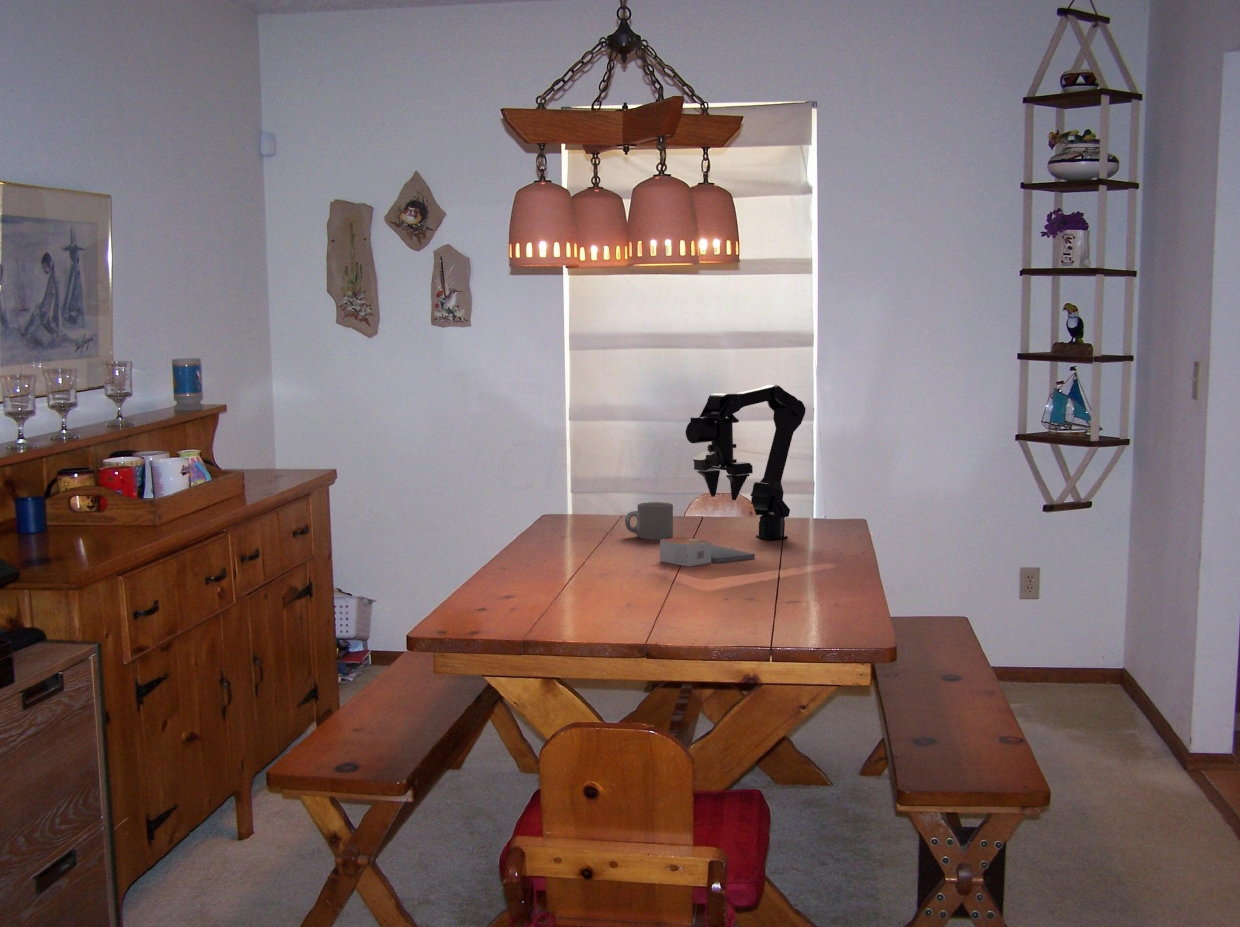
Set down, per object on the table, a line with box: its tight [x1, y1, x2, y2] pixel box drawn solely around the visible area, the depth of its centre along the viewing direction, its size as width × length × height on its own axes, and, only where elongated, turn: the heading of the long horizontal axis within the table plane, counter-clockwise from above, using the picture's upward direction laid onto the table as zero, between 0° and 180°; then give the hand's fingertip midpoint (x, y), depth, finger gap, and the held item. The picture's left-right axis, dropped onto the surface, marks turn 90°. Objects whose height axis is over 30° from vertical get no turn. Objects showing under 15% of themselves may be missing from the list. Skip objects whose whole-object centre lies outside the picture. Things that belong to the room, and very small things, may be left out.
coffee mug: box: [624, 501, 674, 541], centre depth 325 cm, size 13×10×10 cm
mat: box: [711, 544, 756, 564], centre depth 298 cm, size 12×18×1 cm, turn 33°
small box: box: [659, 536, 712, 567], centre depth 289 cm, size 8×6×10 cm
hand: (723, 498), depth 311 cm, fingers open, 9 cm apart
